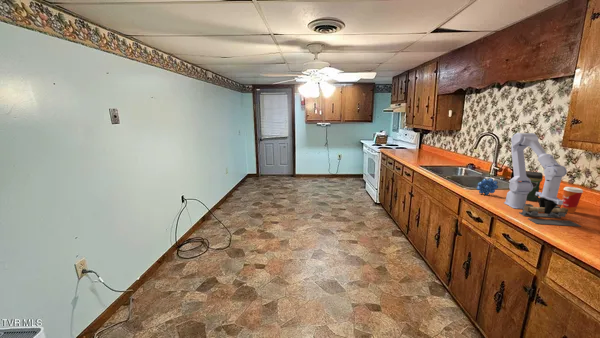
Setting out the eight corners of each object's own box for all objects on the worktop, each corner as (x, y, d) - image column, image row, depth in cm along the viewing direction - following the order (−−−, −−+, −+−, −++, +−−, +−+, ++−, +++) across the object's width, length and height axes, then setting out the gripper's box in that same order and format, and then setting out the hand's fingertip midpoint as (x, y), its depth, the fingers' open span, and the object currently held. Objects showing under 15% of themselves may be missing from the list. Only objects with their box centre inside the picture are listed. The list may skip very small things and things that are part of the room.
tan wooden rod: (527, 211, 132) (528, 207, 131) (523, 210, 134) (524, 205, 134) (566, 214, 130) (568, 209, 129) (562, 212, 132) (563, 207, 132)
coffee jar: (536, 199, 162) (542, 171, 158) (538, 202, 156) (545, 174, 152) (517, 196, 168) (522, 169, 163) (518, 199, 161) (524, 171, 157)
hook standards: (518, 213, 138) (521, 203, 137) (554, 215, 136) (557, 205, 135) (528, 218, 132) (530, 207, 130) (566, 220, 129) (569, 209, 128)
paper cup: (556, 208, 147) (562, 185, 144) (575, 211, 142) (582, 188, 139) (559, 211, 141) (565, 188, 138) (578, 215, 136) (585, 191, 133)
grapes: (495, 194, 170) (499, 178, 167) (496, 197, 164) (500, 180, 162) (475, 191, 176) (478, 175, 173) (475, 194, 171) (478, 177, 168)
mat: (527, 219, 131) (527, 218, 131) (570, 221, 128) (570, 220, 128) (536, 224, 125) (536, 223, 125) (581, 226, 123) (581, 225, 122)
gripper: (531, 184, 136) (526, 206, 140) (554, 192, 122) (547, 217, 126) (545, 184, 136) (540, 207, 139) (570, 193, 122) (563, 218, 125)
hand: (544, 212), depth 132 cm, fingers closed on tan wooden rod, 2 cm apart
